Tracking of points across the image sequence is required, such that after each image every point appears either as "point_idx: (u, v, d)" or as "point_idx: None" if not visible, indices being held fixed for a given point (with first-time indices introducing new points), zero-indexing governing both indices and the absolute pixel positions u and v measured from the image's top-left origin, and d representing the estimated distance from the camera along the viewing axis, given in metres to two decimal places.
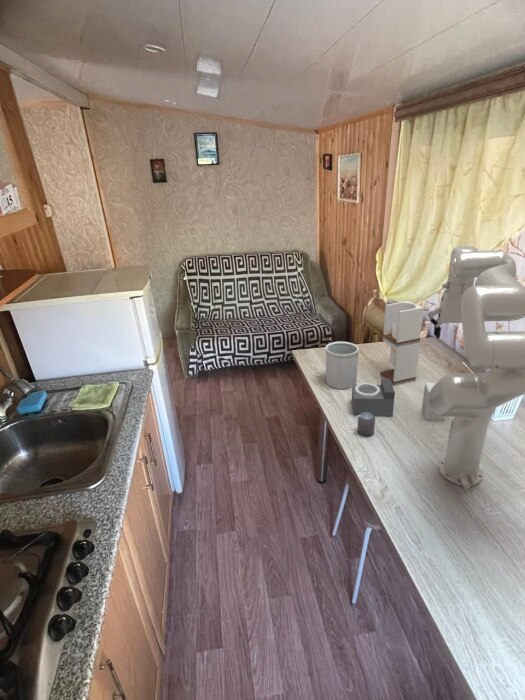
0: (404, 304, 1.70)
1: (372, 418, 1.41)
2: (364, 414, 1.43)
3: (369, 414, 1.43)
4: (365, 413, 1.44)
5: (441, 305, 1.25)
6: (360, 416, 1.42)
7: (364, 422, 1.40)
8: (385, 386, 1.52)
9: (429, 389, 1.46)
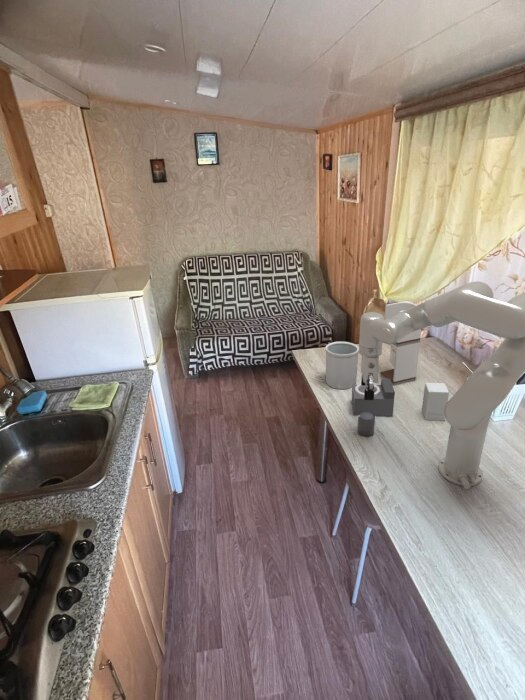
0: (404, 304, 1.70)
1: (372, 418, 1.41)
2: (364, 414, 1.43)
3: (369, 414, 1.43)
4: (365, 413, 1.44)
5: (373, 370, 1.29)
6: (360, 416, 1.42)
7: (364, 422, 1.40)
8: (385, 386, 1.52)
9: (429, 389, 1.46)
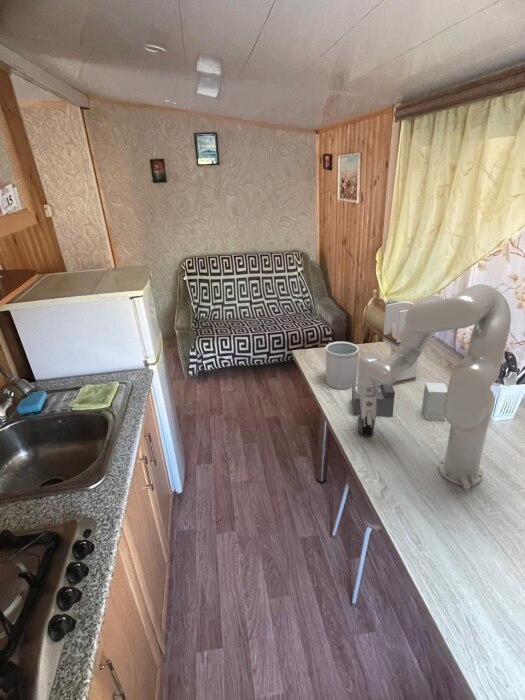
0: (404, 304, 1.70)
1: None
2: None
3: None
4: None
5: (371, 408, 1.35)
6: (360, 416, 1.42)
7: None
8: (385, 386, 1.52)
9: (429, 389, 1.46)
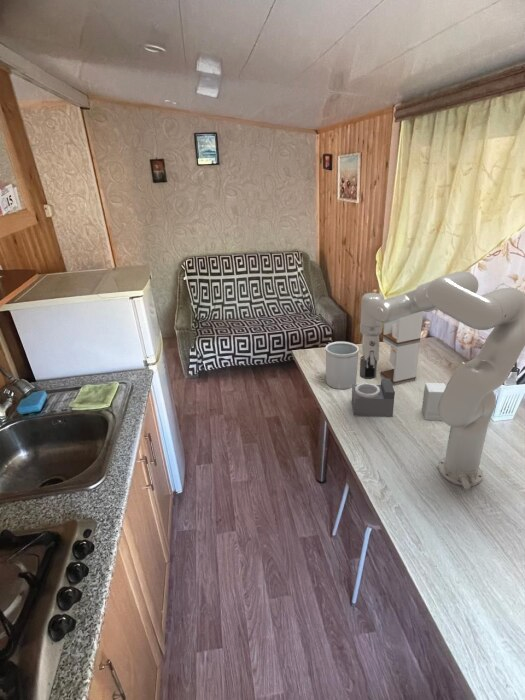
0: None
1: None
2: None
3: None
4: None
5: (374, 348, 1.36)
6: (362, 359, 1.43)
7: None
8: (385, 386, 1.52)
9: (429, 389, 1.46)
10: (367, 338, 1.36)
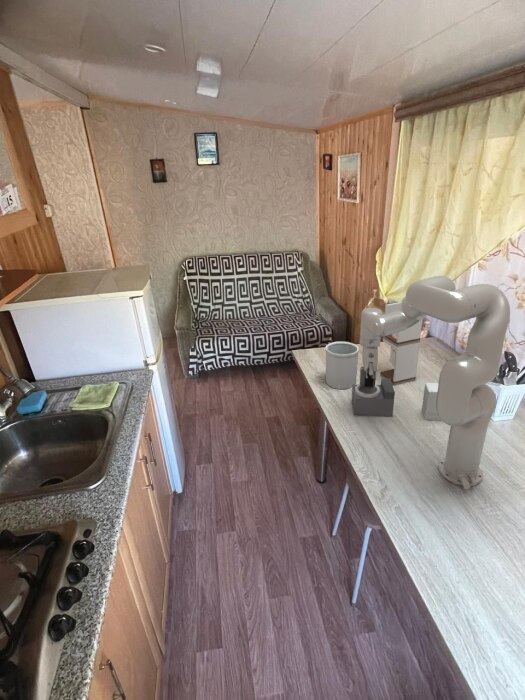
0: None
1: (373, 370, 1.50)
2: None
3: None
4: None
5: (372, 360, 1.44)
6: (362, 369, 1.52)
7: None
8: (385, 386, 1.52)
9: (429, 389, 1.46)
10: (366, 350, 1.44)
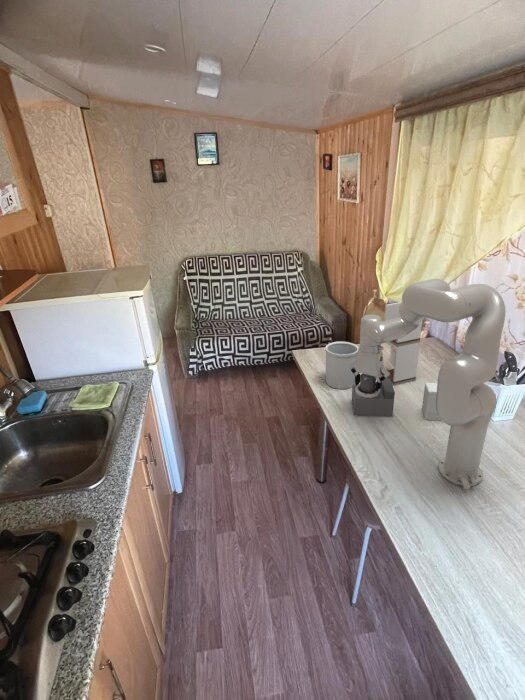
0: None
1: None
2: (364, 375, 1.53)
3: None
4: (364, 375, 1.53)
5: (382, 362, 1.48)
6: (366, 378, 1.51)
7: (374, 381, 1.51)
8: (385, 386, 1.52)
9: (429, 389, 1.46)
10: (378, 356, 1.45)
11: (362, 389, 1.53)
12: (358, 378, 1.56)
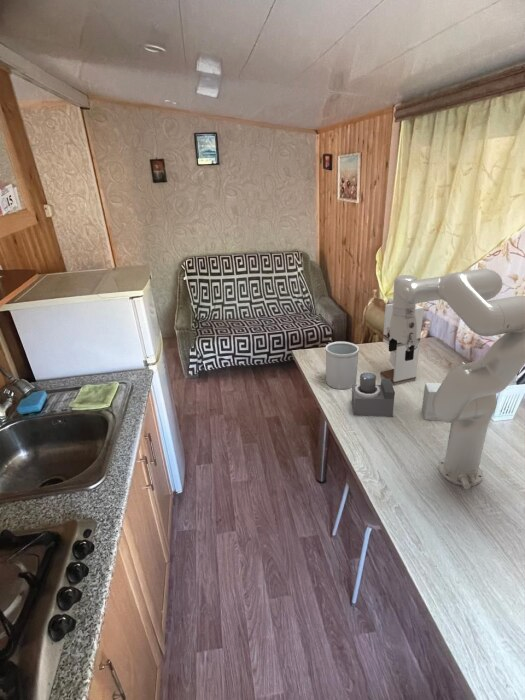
0: None
1: (373, 374, 1.53)
2: (364, 375, 1.53)
3: (366, 374, 1.54)
4: (364, 375, 1.54)
5: (413, 330, 1.35)
6: (366, 378, 1.51)
7: (373, 380, 1.51)
8: (385, 386, 1.52)
9: (429, 389, 1.46)
10: (406, 321, 1.34)
11: (362, 389, 1.53)
12: (392, 344, 1.46)
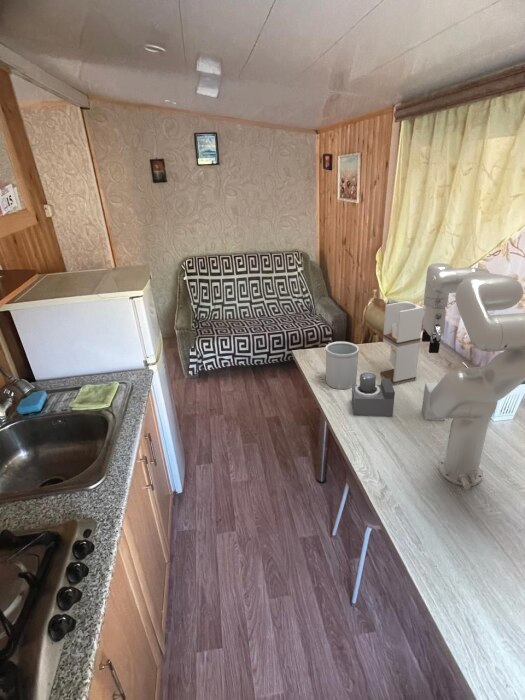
0: (404, 304, 1.70)
1: (373, 374, 1.53)
2: (364, 375, 1.53)
3: (367, 373, 1.54)
4: (363, 374, 1.54)
5: (439, 322, 1.29)
6: (365, 378, 1.51)
7: (373, 380, 1.51)
8: (385, 386, 1.52)
9: (429, 389, 1.46)
10: (433, 311, 1.29)
11: (361, 389, 1.54)
12: (426, 334, 1.41)
